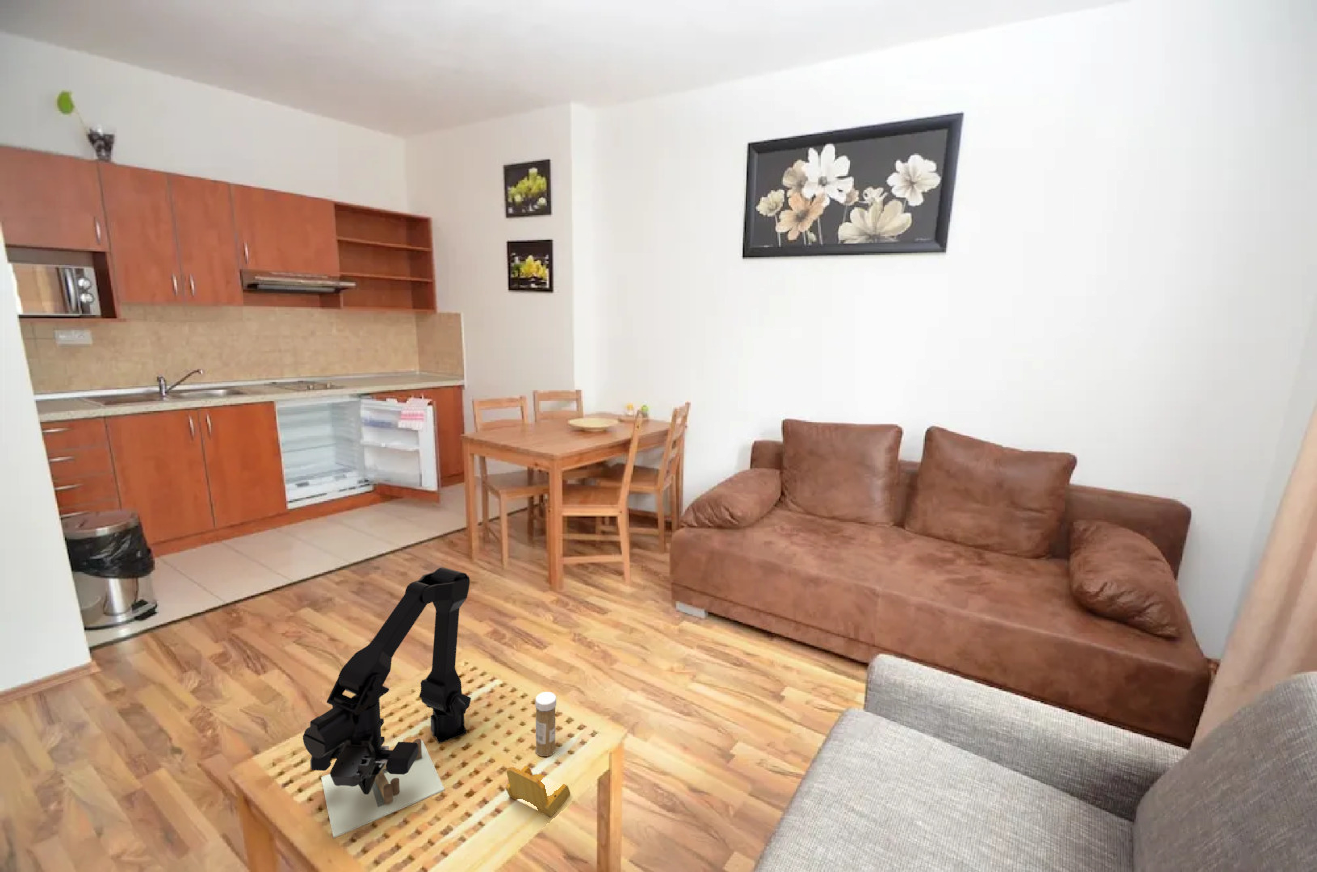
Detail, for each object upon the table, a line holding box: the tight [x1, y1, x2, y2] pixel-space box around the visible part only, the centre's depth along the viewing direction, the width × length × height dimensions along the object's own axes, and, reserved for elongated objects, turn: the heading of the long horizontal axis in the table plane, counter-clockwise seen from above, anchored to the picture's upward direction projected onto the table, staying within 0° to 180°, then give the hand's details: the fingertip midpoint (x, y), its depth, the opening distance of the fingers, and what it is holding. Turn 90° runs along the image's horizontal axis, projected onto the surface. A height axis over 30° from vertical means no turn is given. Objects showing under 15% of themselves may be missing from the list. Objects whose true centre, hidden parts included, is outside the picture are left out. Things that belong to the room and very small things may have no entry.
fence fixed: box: [382, 738, 422, 796], centre depth 119 cm, size 11×9×4 cm
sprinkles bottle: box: [534, 691, 557, 757], centre depth 128 cm, size 5×5×13 cm
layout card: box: [320, 739, 445, 839], centre depth 117 cm, size 20×17×1 cm
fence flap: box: [375, 770, 393, 804], centre depth 115 cm, size 9×2×3 cm, turn 42°
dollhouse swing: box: [505, 765, 571, 818], centre depth 115 cm, size 10×10×9 cm
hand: (367, 792), depth 113 cm, fingers closed
